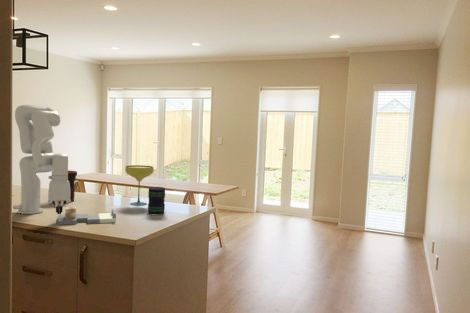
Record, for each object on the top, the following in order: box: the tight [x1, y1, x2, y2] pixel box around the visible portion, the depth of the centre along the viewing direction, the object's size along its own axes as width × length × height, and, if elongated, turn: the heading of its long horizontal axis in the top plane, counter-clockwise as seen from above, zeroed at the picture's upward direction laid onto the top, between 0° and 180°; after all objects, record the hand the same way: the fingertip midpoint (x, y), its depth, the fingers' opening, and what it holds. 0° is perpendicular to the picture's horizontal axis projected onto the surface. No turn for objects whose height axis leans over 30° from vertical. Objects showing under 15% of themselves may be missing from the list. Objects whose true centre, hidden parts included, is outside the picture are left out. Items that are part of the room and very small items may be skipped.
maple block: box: [64, 206, 77, 219], centre depth 196 cm, size 5×5×5 cm
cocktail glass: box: [125, 164, 154, 207], centre depth 250 cm, size 18×18×25 cm
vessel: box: [58, 169, 78, 203], centre depth 250 cm, size 14×14×20 cm
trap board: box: [56, 208, 117, 226], centre depth 200 cm, size 28×14×4 cm, turn 113°
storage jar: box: [147, 186, 166, 215], centre depth 226 cm, size 10×10×15 cm
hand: (59, 213), depth 194 cm, fingers closed
